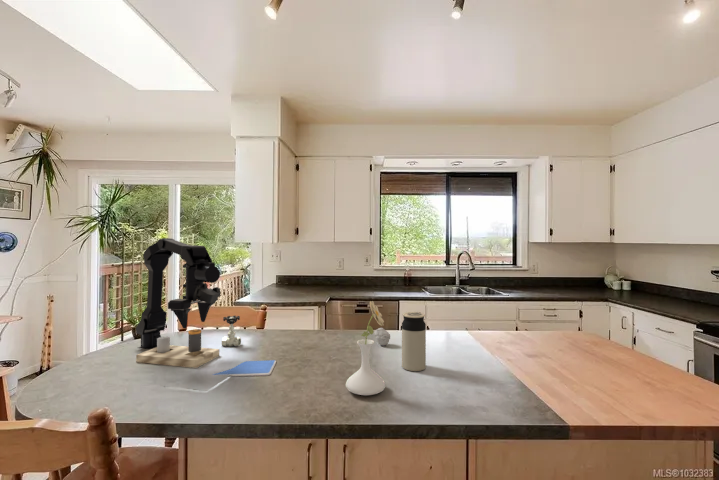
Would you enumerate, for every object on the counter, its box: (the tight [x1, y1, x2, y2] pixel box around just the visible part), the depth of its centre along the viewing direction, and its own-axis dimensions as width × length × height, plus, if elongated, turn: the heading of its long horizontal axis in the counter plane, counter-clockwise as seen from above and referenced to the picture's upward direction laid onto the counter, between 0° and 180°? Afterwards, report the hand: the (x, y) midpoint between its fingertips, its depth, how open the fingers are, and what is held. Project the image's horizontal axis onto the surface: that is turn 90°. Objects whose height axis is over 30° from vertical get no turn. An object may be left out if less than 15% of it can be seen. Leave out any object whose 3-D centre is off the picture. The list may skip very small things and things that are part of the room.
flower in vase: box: [345, 300, 387, 396], centre depth 96 cm, size 13×11×25 cm
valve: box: [221, 315, 242, 348], centre depth 134 cm, size 7×7×12 cm
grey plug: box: [157, 336, 171, 353], centre depth 120 cm, size 4×4×7 cm
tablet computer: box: [212, 359, 277, 378], centre depth 111 cm, size 19×13×1 cm, turn 94°
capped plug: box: [187, 328, 202, 352], centre depth 117 cm, size 4×4×7 cm
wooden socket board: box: [135, 344, 220, 369], centre depth 119 cm, size 24×12×3 cm, turn 77°
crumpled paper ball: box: [373, 327, 391, 346], centre depth 137 cm, size 6×7×7 cm
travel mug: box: [401, 311, 427, 372], centre depth 113 cm, size 8×8×18 cm
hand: (194, 324), depth 118 cm, fingers open, 9 cm apart
